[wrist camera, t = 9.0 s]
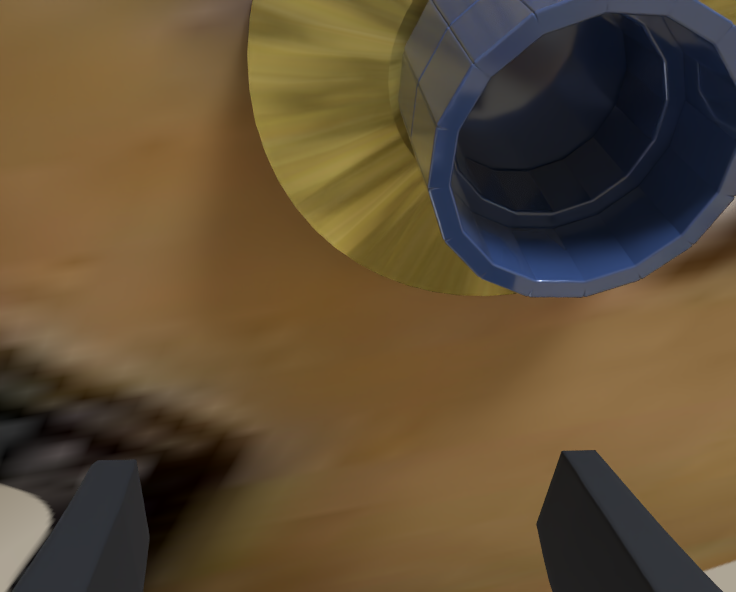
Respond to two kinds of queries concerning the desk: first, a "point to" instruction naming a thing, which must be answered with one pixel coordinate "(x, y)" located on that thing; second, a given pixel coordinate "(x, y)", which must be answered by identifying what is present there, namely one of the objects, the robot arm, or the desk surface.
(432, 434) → the desk surface
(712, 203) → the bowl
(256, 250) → the desk surface
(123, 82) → the desk surface
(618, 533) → the robot arm
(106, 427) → the desk surface
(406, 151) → the gold flat disc
